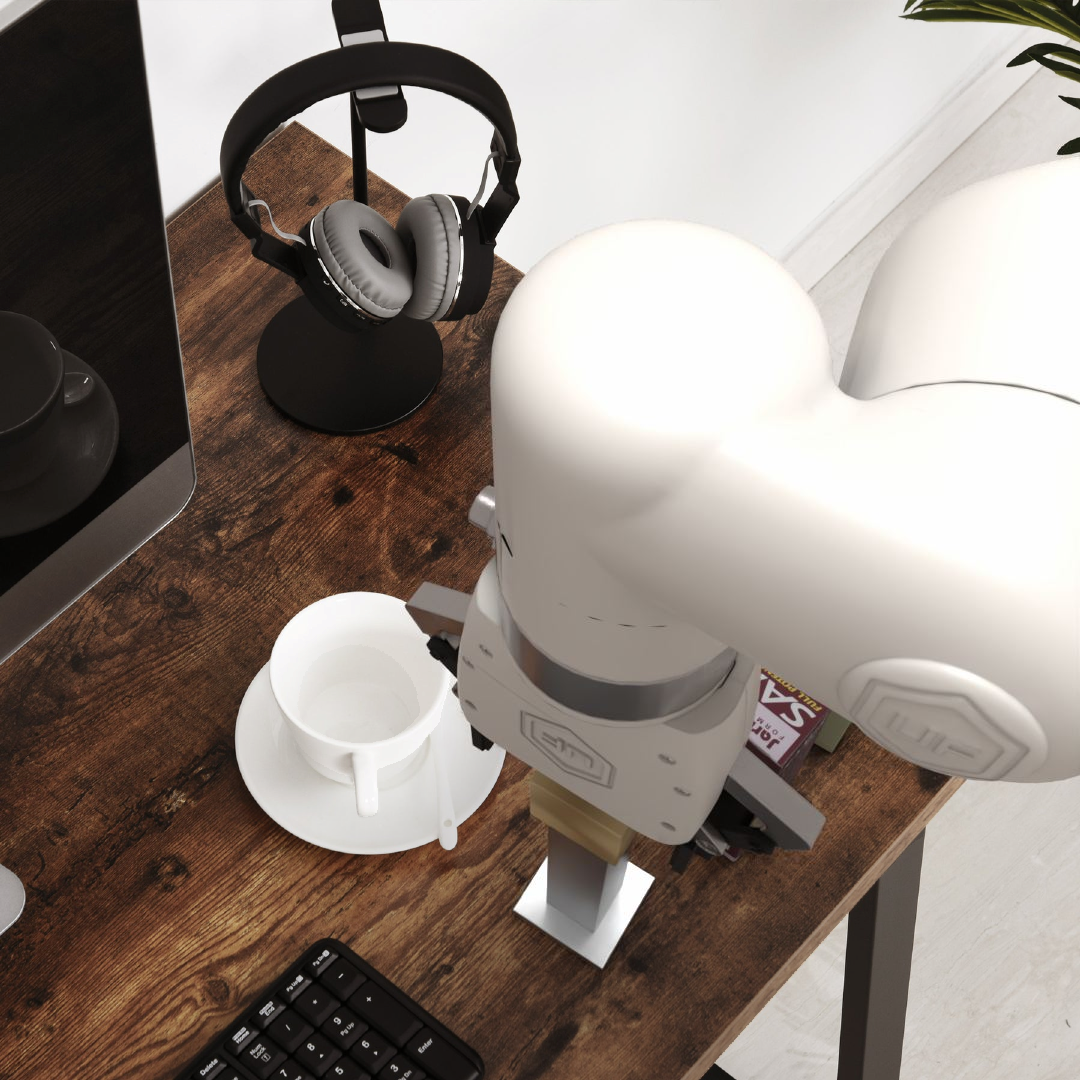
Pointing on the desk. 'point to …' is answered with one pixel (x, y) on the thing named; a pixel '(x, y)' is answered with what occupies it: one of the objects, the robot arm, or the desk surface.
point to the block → (578, 819)
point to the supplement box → (782, 730)
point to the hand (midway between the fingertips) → (593, 780)
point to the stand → (583, 899)
